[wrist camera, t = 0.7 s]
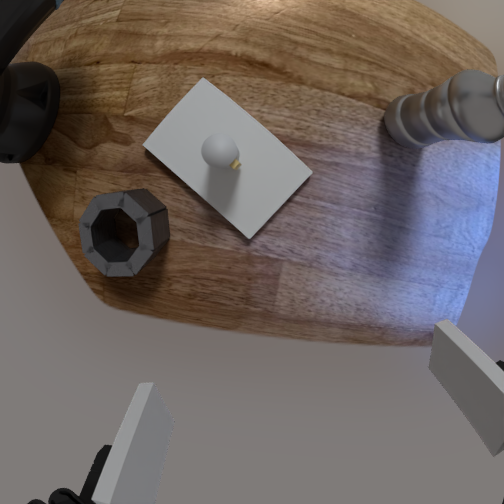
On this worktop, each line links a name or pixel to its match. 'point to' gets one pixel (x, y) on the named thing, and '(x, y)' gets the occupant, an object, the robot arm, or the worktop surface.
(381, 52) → the worktop surface
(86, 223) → the ring
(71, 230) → the worktop surface
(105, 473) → the robot arm
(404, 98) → the plastic bottle
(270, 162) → the shaft stand
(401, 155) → the worktop surface
